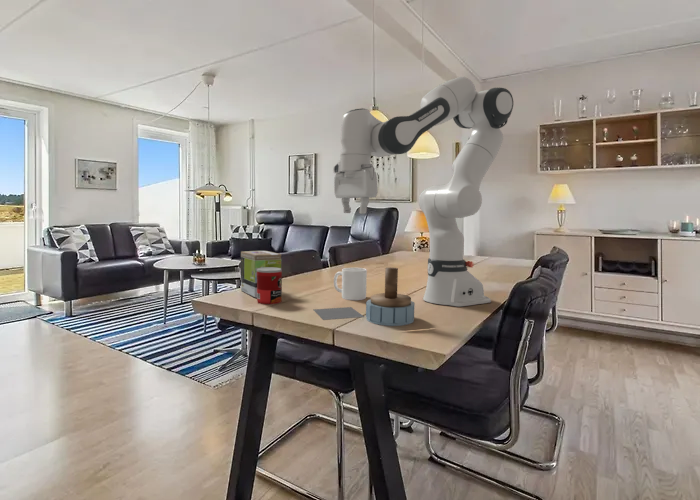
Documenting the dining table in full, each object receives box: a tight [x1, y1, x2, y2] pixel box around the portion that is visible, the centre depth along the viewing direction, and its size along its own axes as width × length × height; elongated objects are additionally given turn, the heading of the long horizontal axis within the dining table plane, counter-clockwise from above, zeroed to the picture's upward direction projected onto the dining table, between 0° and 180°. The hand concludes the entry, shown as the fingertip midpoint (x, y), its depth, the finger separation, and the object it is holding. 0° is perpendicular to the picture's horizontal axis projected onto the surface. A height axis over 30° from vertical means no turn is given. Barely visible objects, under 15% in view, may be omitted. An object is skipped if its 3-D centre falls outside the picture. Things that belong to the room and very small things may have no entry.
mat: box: [313, 306, 365, 321], centre depth 121 cm, size 12×12×1 cm
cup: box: [333, 267, 368, 301], centre depth 143 cm, size 8×12×10 cm
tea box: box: [240, 250, 282, 299], centre depth 149 cm, size 15×10×15 cm, turn 33°
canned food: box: [256, 267, 283, 305], centre depth 134 cm, size 8×8×11 cm
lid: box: [370, 267, 412, 307], centre depth 114 cm, size 11×11×10 cm
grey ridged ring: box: [365, 298, 416, 327], centre depth 115 cm, size 13×13×5 cm
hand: (354, 213), depth 124 cm, fingers open, 8 cm apart
